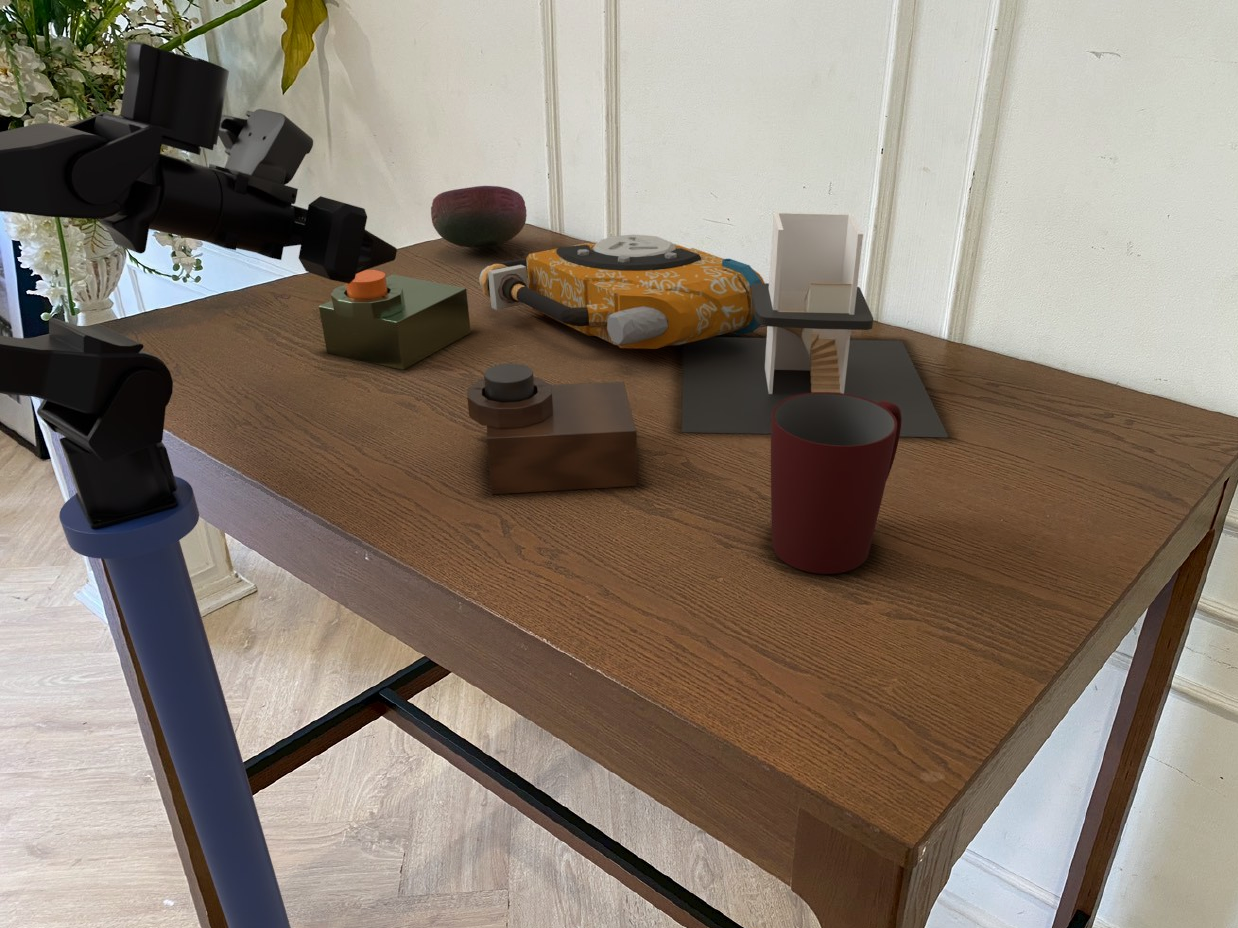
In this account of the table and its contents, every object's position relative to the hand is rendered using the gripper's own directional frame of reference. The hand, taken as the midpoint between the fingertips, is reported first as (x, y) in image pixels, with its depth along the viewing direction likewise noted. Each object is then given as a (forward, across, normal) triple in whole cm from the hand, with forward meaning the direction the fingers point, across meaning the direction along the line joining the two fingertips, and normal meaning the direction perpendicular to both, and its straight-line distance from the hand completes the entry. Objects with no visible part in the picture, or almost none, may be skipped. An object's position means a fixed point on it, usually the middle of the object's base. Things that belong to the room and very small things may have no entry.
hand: (362, 244), depth 93 cm
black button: (0, -22, +8) cm, 23 cm away
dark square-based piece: (+32, -31, +2) cm, 45 cm away
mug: (+9, -50, +12) cm, 52 cm away
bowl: (+38, +25, -2) cm, 45 cm away
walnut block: (+6, -24, +13) cm, 28 cm away
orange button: (+7, +7, +5) cm, 12 cm away
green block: (+14, +8, +10) cm, 19 cm away
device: (+31, -7, +2) cm, 32 cm away
